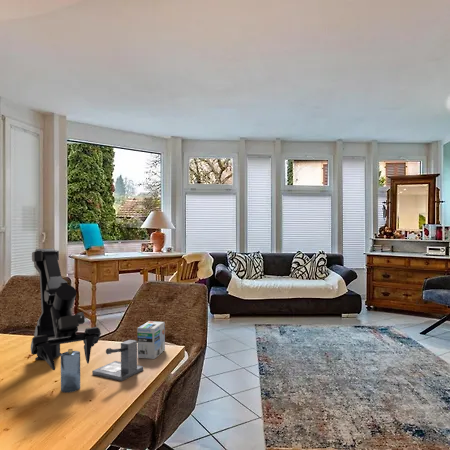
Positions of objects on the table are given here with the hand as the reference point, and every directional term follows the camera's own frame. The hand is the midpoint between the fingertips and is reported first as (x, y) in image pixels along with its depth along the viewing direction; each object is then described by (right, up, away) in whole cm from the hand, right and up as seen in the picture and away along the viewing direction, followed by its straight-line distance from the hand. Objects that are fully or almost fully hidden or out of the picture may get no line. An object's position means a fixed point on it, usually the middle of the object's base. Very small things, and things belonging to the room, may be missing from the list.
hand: (71, 366), depth 110 cm
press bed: (+9, -7, +11) cm, 16 cm away
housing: (-1, -7, +1) cm, 7 cm away
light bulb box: (+17, -7, +31) cm, 36 cm away
